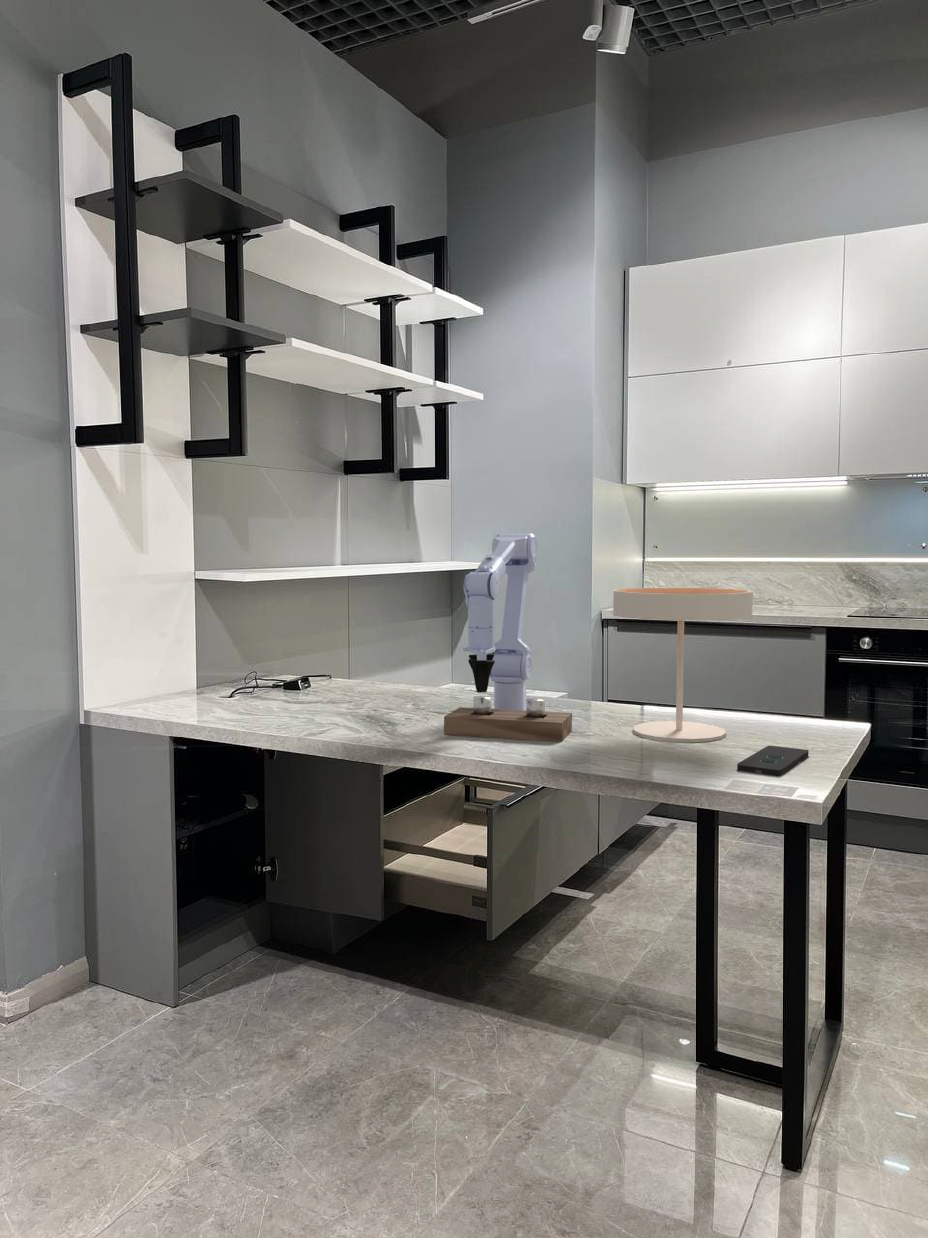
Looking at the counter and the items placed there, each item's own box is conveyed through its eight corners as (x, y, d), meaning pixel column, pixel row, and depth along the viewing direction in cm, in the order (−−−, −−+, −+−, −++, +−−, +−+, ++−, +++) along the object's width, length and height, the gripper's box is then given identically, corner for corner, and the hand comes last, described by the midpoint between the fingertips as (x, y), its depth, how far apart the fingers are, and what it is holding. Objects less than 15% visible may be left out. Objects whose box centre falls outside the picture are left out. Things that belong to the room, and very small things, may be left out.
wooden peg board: (459, 724, 216) (459, 707, 216) (571, 730, 209) (572, 712, 209) (444, 734, 205) (444, 716, 204) (562, 741, 197) (562, 722, 197)
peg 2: (528, 715, 207) (528, 697, 207) (546, 716, 206) (546, 698, 206) (524, 719, 203) (524, 700, 203) (542, 719, 202) (542, 701, 202)
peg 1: (476, 713, 211) (476, 695, 210) (493, 714, 210) (493, 696, 209) (471, 716, 207) (471, 698, 206) (488, 717, 206) (488, 699, 205)
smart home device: (734, 763, 172) (767, 744, 188) (734, 773, 172) (767, 753, 189) (780, 769, 167) (810, 749, 184) (780, 779, 167) (810, 758, 184)
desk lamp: (753, 725, 215) (756, 588, 213) (745, 751, 187) (748, 595, 185) (623, 717, 225) (625, 586, 223) (598, 741, 197) (599, 592, 195)
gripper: (463, 624, 211) (463, 684, 212) (462, 630, 197) (462, 694, 198) (494, 624, 211) (494, 683, 212) (496, 630, 197) (496, 694, 198)
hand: (481, 689), depth 205 cm, fingers open, 7 cm apart
